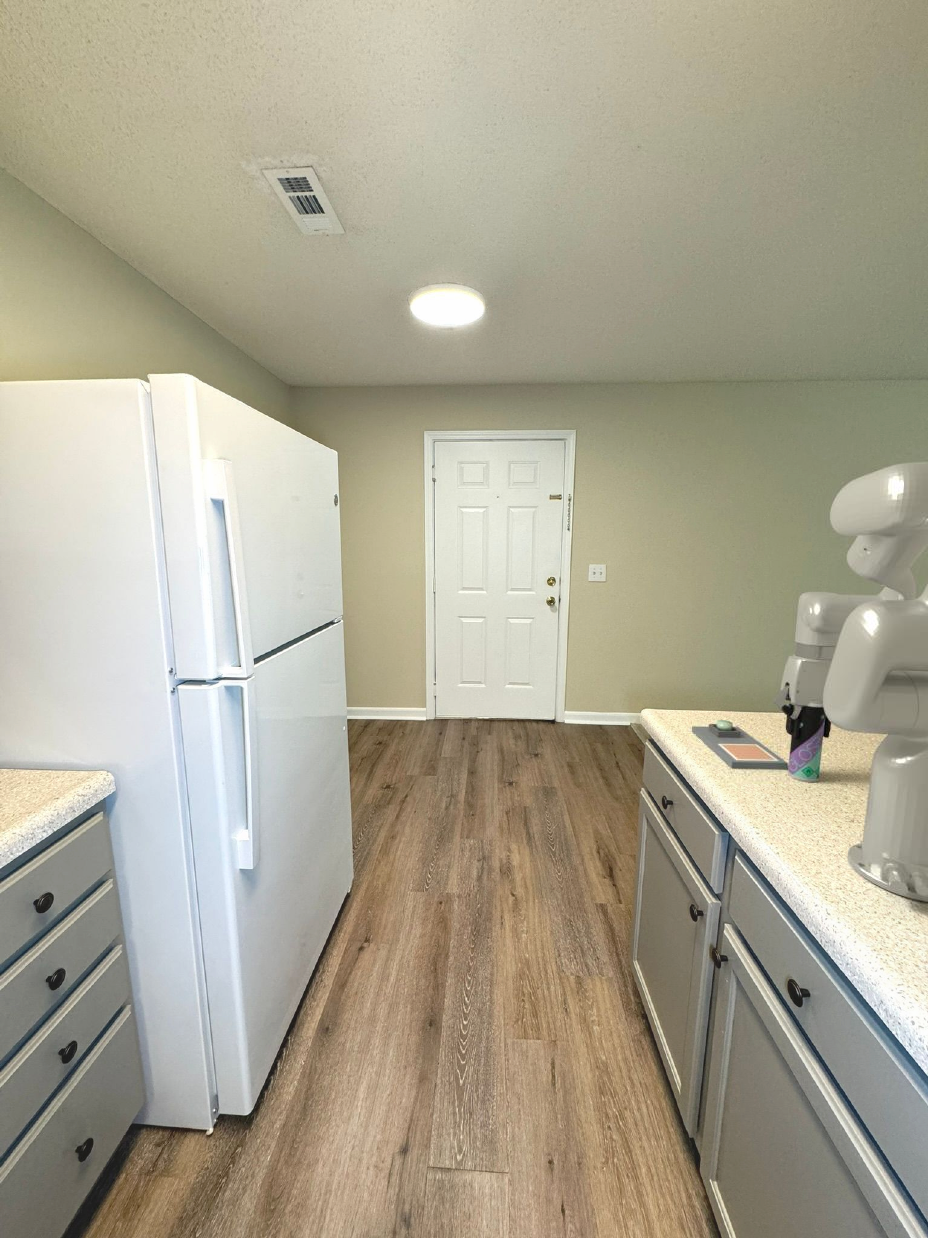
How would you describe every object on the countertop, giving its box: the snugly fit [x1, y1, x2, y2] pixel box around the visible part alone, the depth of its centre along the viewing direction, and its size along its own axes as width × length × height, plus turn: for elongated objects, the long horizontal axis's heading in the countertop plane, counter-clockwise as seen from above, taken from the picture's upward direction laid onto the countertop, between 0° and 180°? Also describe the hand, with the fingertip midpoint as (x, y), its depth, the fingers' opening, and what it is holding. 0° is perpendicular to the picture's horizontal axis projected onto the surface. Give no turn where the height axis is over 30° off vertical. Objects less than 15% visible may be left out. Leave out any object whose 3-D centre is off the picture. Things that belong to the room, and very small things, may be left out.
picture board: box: [691, 723, 789, 770], centre depth 120 cm, size 22×12×3 cm, turn 177°
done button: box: [716, 719, 734, 731], centre depth 126 cm, size 4×4×2 cm
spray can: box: [787, 700, 826, 783], centre depth 104 cm, size 6×6×20 cm
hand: (807, 734), depth 104 cm, fingers closed on spray can, 5 cm apart
